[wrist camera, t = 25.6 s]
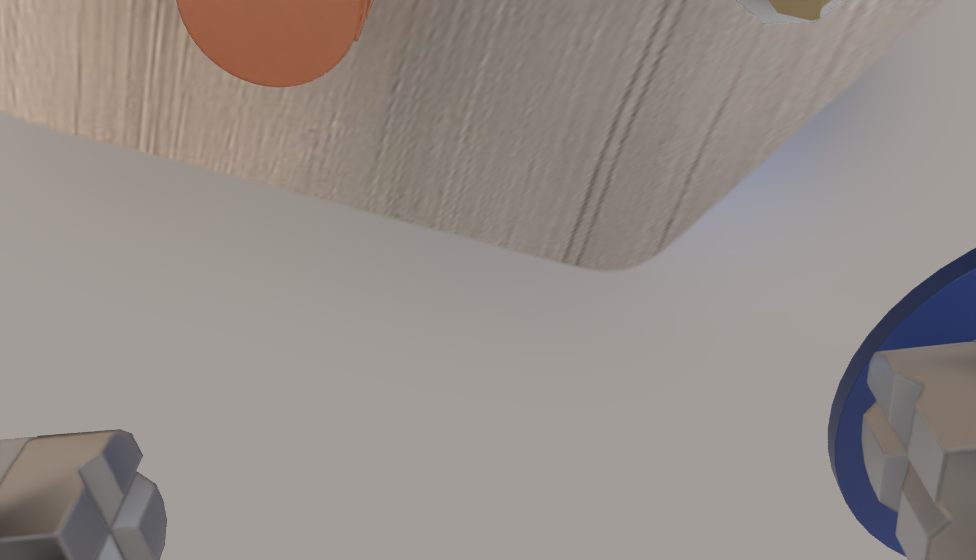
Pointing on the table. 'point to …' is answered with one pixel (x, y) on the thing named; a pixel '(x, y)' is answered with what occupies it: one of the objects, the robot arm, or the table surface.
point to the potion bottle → (788, 10)
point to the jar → (275, 36)
